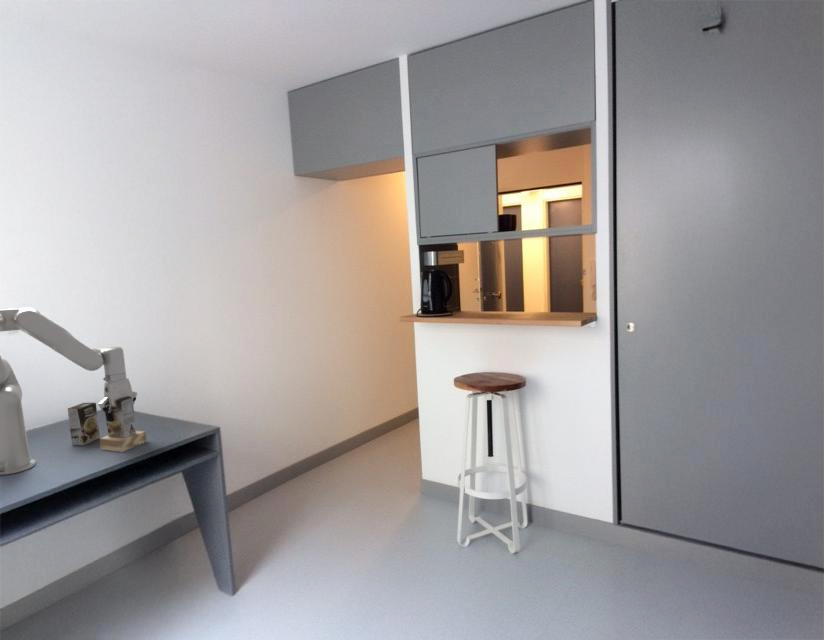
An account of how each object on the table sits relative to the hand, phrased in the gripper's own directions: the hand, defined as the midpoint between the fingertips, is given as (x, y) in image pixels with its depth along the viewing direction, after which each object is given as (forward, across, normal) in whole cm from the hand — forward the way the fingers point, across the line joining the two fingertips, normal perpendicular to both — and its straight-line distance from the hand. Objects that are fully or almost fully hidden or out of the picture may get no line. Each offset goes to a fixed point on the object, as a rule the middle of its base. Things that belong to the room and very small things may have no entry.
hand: (120, 417), depth 220 cm
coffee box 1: (+12, -1, +21) cm, 24 cm away
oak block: (+12, 0, 0) cm, 13 cm away
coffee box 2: (+8, 0, 0) cm, 8 cm away
